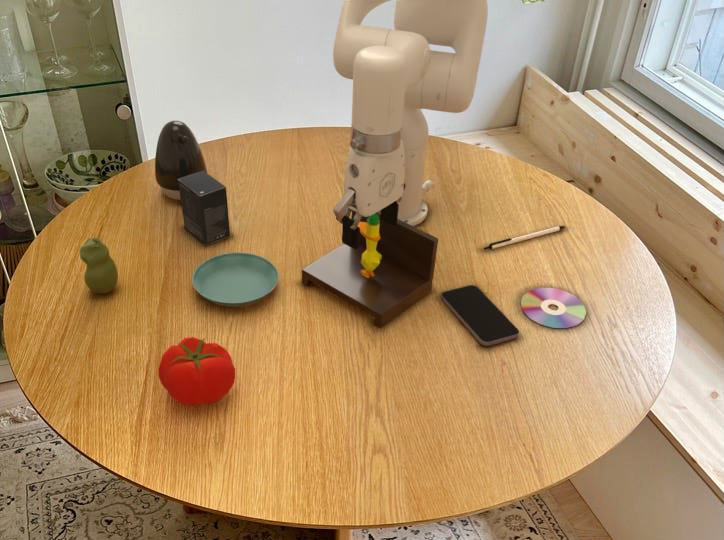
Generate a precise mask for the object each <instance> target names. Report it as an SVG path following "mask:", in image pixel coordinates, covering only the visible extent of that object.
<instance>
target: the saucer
mask: <svg viewBox="0 0 724 540" xmlns="http://www.w3.org/2000/svg"><path fill="white" fill-rule="evenodd" d="M279 279H280V273H279V271H278V268H277V267H276V266H275V264H274V263H273V262H271V261H270V260H269V259H267V258H265V257H263V256H260V255H258V254H254V253H250V252H226V253H221V254H218V255H214V256H212V257H210V258H209V257H208V259H206V260H204V261H203V262H201V263H200V264H199V265H198V266H197V267H196V268H195V269H194V271H193V273H192V277H191V283H192V285H193V288H194V289H195V291H196V292H197V293H198V294H199V295H200V296H201V297H203V298H204V299H206V300H207V301H209V302H210V303H213V304H216V305H218V306H223V307H228V308H242V307H247V306H250V305H251V306H252V305H253V304H256V303H259V302H260V301H262V300H263V299H264V298H267V296H268V295H270V294H271V292H272V291H273V290H274V289H275V288H276V286H277V285H278V282H279Z"/></svg>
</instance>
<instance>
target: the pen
mask: <svg viewBox="0 0 724 540" xmlns="http://www.w3.org/2000/svg"><path fill="white" fill-rule="evenodd" d="M565 228H566V226H565V225H558V226H554V227H550V228H547V229H543V230H539V231H536V232H535V231H534V232H532V233H529V234H525V235H521V236H517V237H514V238H511V237H510V238H505V239H503V240H499V241H495V242H491V243H489V245H488V246H485V247H483V250H484V251H485V250H494V249H498V248H500V247H505V246H508V245H512V244H515V243H520V242H523V241H526V240H527V241H528V240H531V239H533V238H537V237H541V236H545V235H549V234H552V233H556V232H559V231H561V230H563V229H565Z"/></svg>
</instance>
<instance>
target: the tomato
mask: <svg viewBox="0 0 724 540" xmlns="http://www.w3.org/2000/svg"><path fill="white" fill-rule="evenodd" d="M205 339H206V338H205V337H204V338H203V339H200V338H197V337H194V336H189V337H184V338H183V339H182V340H181V341H180V342H177V345H174V344H173V345H170V346H169V348H168V349H166V351H165V352H164V353H163V355H162V356H161V359H160V361H159V365H158V378H159V382H160V383H161V385H162V386H163V388H164V389H165V390H166V391H167V393H168V394H169V396H170V397H171V399H172V400H174V401H176V402H178V403H180V404H181V405H184V406H187V407H192V408H193V407H196V406H199V405H211V404H214V403H217V402H219V401H220V400H222V399H223V398H224V397H225V396H226V395H227V394H228V393H229V392H230V391H231V389H232V387H233V385H234V384H235V381H236V367H235V366H234V364H233V360H232V356H231V355H230V353H229V352H228V350H227V349H226V348H224V347H223V346H221V345H220V344H218V343H217V342H205Z"/></svg>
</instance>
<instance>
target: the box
mask: <svg viewBox="0 0 724 540" xmlns="http://www.w3.org/2000/svg"><path fill="white" fill-rule="evenodd" d="M178 184H179V191H180V198H181V200H180V204H181V205H180V206H181V212H182V219H183V226H184V227H183V228H184V229H185V230H187V232H189V233H190V234H191V235H192V236H194V237H195V238H196V239H197V240H198V241H199V242H201V244H203V245H204V246H209V245H211V244H215V243H217V242H220V241H222V240H224V239H228V238H230V236H231V230H230V218H229V217H230V216H229V206H228V195H227V193H228V192H227V187H226V186H225V185H224V184H222V183H221V182H220V181H218V180H217V179H216V178H214V177H213V176H212V175H210V174H208V172H207V173H206V172H205V171H200V172H197V173H194V174H191V175H188V176H185V177H181V178H179V179H178Z"/></svg>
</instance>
